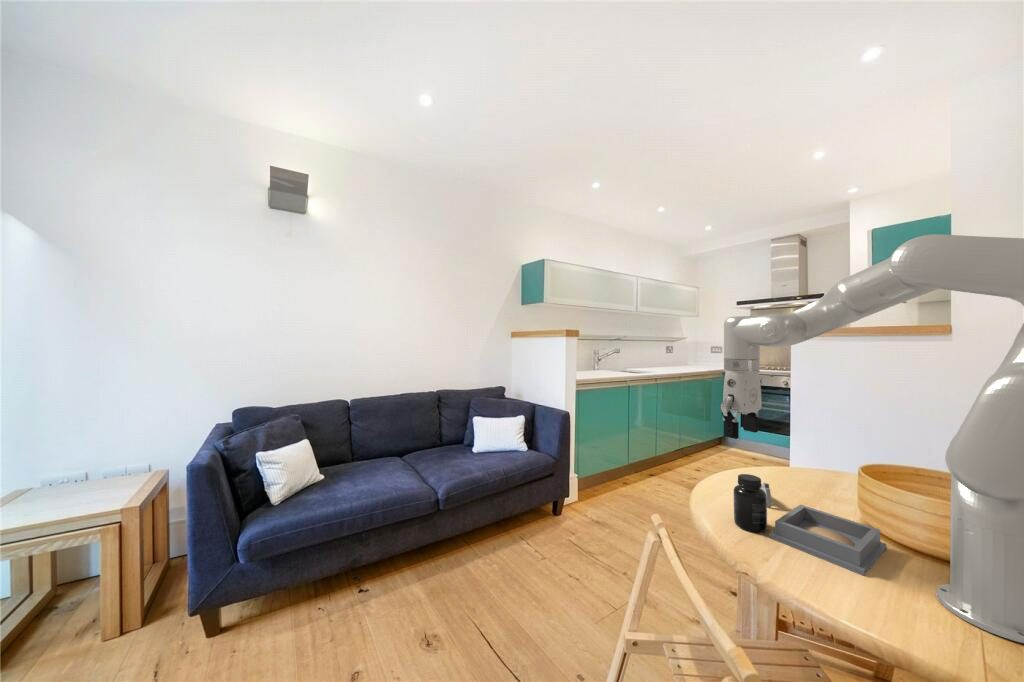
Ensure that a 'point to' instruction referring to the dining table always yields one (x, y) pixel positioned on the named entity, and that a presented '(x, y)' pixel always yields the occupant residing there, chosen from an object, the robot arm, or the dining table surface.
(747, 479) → the supplement bottle
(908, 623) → the dining table surface
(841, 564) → the housing
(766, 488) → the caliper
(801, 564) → the dining table surface
